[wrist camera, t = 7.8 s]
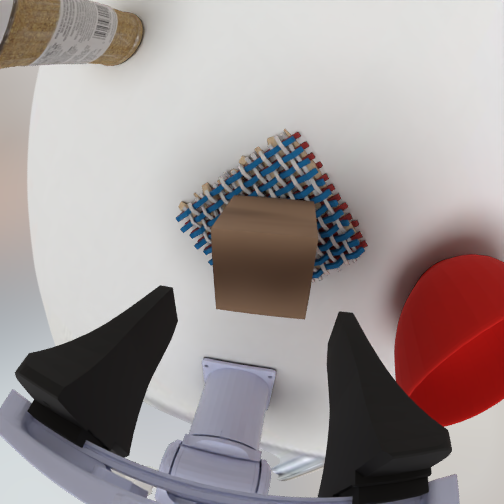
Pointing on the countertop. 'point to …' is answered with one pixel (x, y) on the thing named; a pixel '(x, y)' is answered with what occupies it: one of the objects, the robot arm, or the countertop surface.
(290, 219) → the walnut block
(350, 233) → the woven mat
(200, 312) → the countertop surface
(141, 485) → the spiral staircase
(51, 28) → the sprinkles bottle
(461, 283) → the ceramic cup
